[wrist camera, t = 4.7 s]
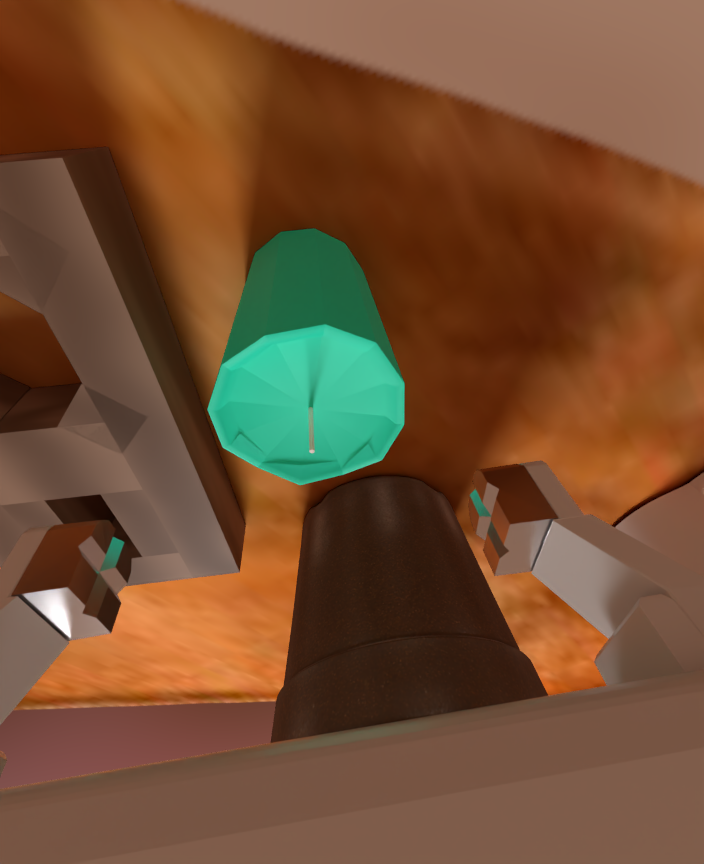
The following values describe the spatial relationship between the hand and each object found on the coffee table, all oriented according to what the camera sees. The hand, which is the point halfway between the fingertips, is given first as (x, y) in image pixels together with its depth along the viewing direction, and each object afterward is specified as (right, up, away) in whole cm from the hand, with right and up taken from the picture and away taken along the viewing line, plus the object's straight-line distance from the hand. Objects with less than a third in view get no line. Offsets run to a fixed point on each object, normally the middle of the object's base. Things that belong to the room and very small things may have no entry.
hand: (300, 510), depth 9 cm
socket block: (-15, +3, +14) cm, 21 cm away
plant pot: (+3, -6, +24) cm, 25 cm away
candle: (-1, +9, +11) cm, 14 cm away
